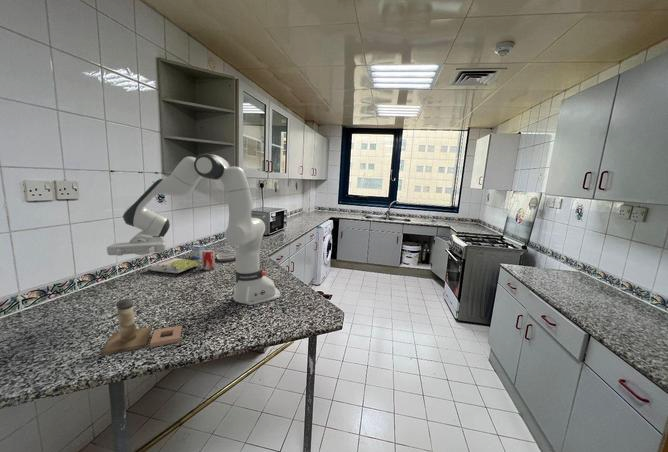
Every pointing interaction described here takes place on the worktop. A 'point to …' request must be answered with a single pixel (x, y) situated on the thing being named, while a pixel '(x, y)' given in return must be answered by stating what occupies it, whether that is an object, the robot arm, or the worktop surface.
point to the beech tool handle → (126, 320)
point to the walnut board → (119, 346)
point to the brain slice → (226, 256)
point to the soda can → (208, 259)
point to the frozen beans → (173, 265)
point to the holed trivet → (166, 336)
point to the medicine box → (197, 251)
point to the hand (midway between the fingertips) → (133, 252)
